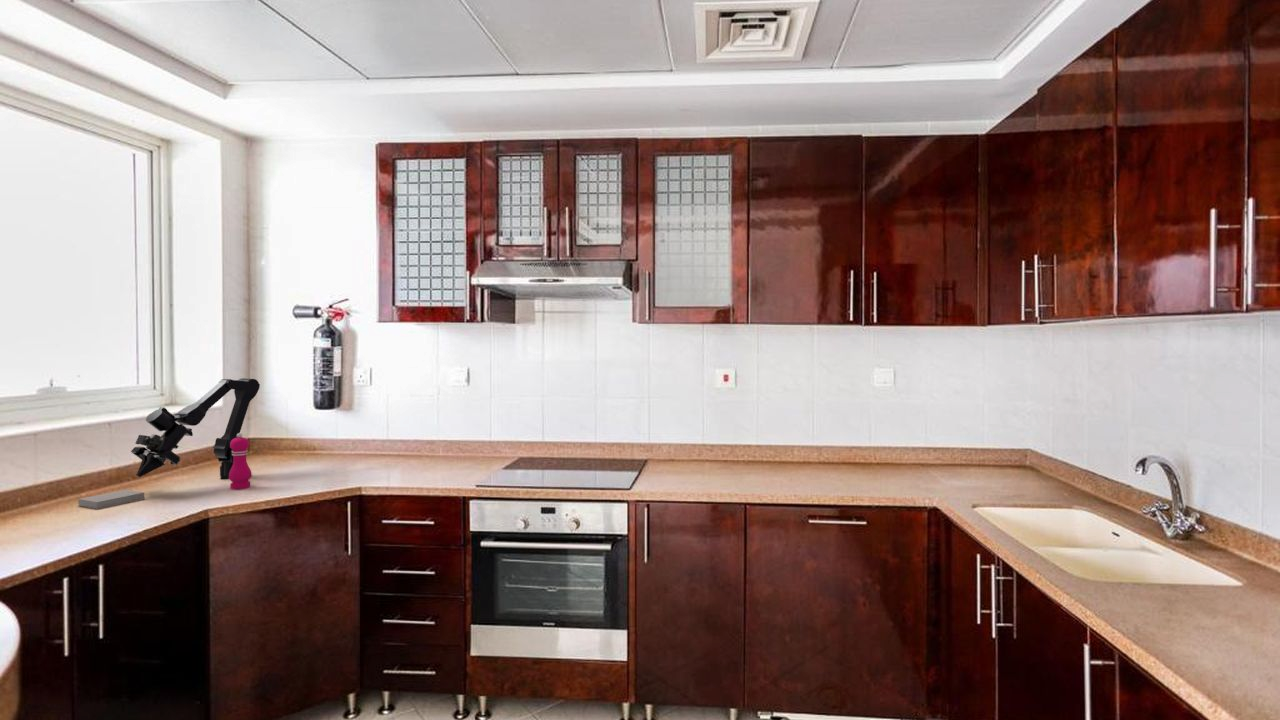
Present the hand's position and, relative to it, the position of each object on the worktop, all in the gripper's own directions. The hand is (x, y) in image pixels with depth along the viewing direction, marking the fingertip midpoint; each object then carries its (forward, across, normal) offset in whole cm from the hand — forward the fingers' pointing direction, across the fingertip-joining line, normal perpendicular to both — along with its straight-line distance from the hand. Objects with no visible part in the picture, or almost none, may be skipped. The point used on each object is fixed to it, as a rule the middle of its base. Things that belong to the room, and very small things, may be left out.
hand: (138, 476), depth 226 cm
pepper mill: (-11, +19, +22) cm, 31 cm away
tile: (+5, 0, +4) cm, 6 cm away
